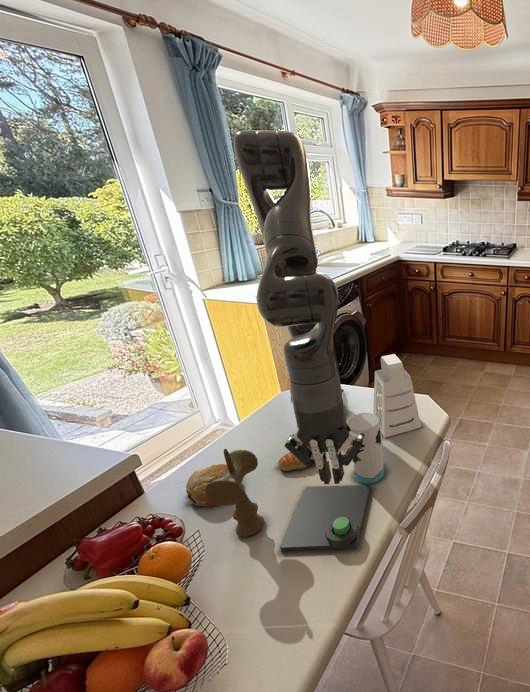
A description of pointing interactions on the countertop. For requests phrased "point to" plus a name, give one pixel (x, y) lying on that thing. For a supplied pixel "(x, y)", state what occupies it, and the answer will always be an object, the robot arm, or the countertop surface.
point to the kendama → (237, 491)
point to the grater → (394, 397)
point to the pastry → (290, 462)
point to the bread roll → (203, 484)
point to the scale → (327, 518)
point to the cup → (368, 448)
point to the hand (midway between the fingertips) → (332, 480)
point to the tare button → (341, 526)
